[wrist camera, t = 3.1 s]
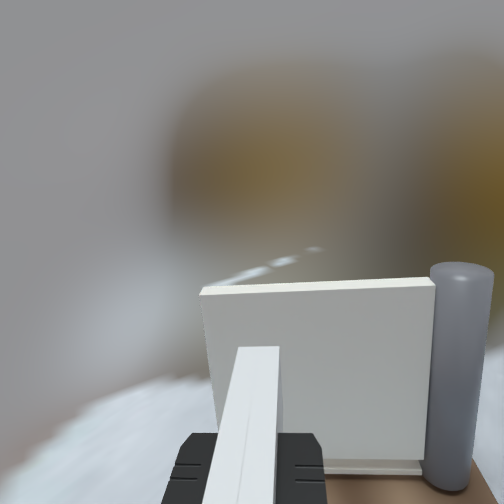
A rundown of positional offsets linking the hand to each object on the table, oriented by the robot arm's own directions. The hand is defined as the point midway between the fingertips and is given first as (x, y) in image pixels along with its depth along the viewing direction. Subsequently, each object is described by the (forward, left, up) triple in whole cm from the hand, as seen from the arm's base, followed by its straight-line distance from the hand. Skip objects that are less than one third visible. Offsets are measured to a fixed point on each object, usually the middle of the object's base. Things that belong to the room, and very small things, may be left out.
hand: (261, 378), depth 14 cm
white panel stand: (+1, -9, -13) cm, 16 cm away
